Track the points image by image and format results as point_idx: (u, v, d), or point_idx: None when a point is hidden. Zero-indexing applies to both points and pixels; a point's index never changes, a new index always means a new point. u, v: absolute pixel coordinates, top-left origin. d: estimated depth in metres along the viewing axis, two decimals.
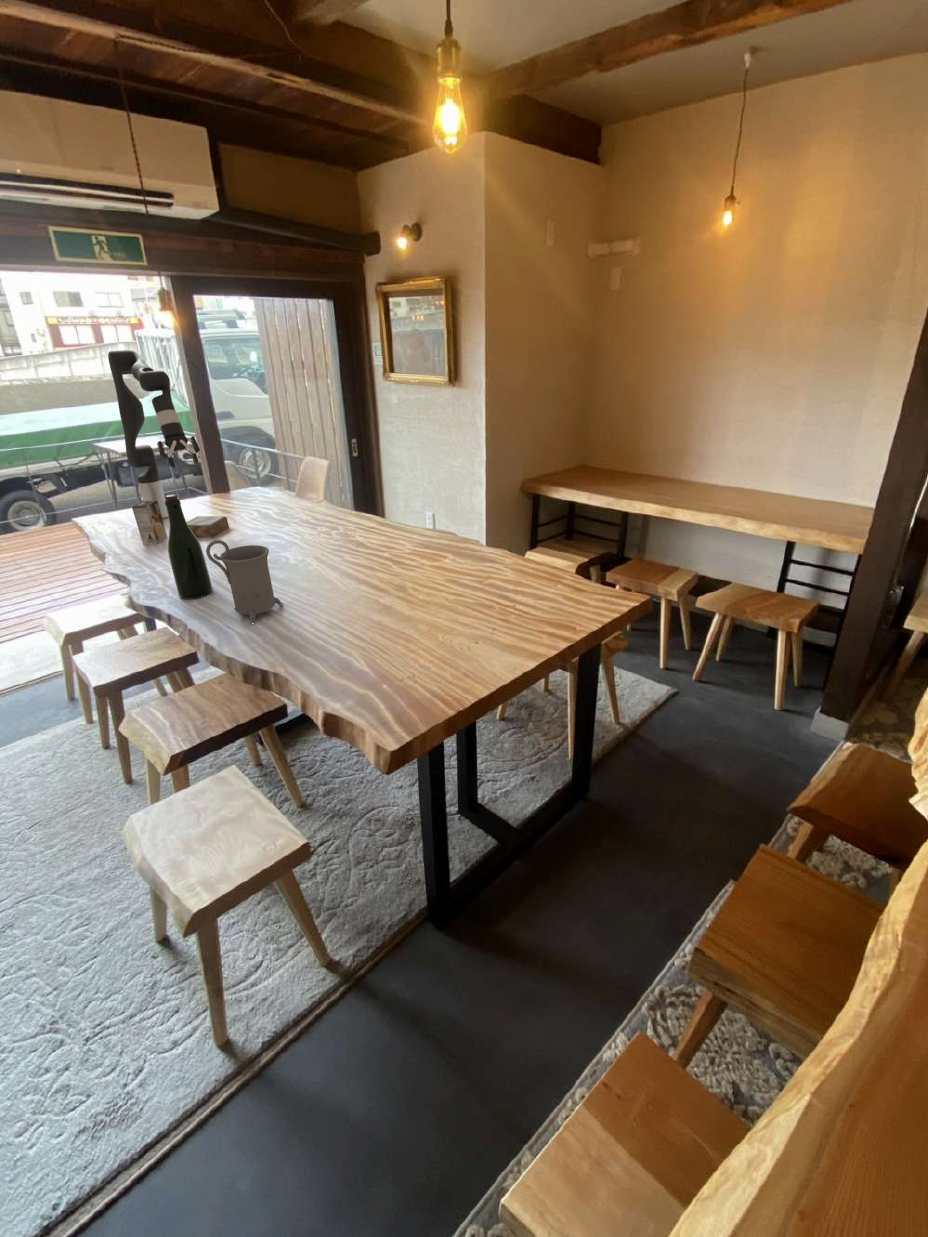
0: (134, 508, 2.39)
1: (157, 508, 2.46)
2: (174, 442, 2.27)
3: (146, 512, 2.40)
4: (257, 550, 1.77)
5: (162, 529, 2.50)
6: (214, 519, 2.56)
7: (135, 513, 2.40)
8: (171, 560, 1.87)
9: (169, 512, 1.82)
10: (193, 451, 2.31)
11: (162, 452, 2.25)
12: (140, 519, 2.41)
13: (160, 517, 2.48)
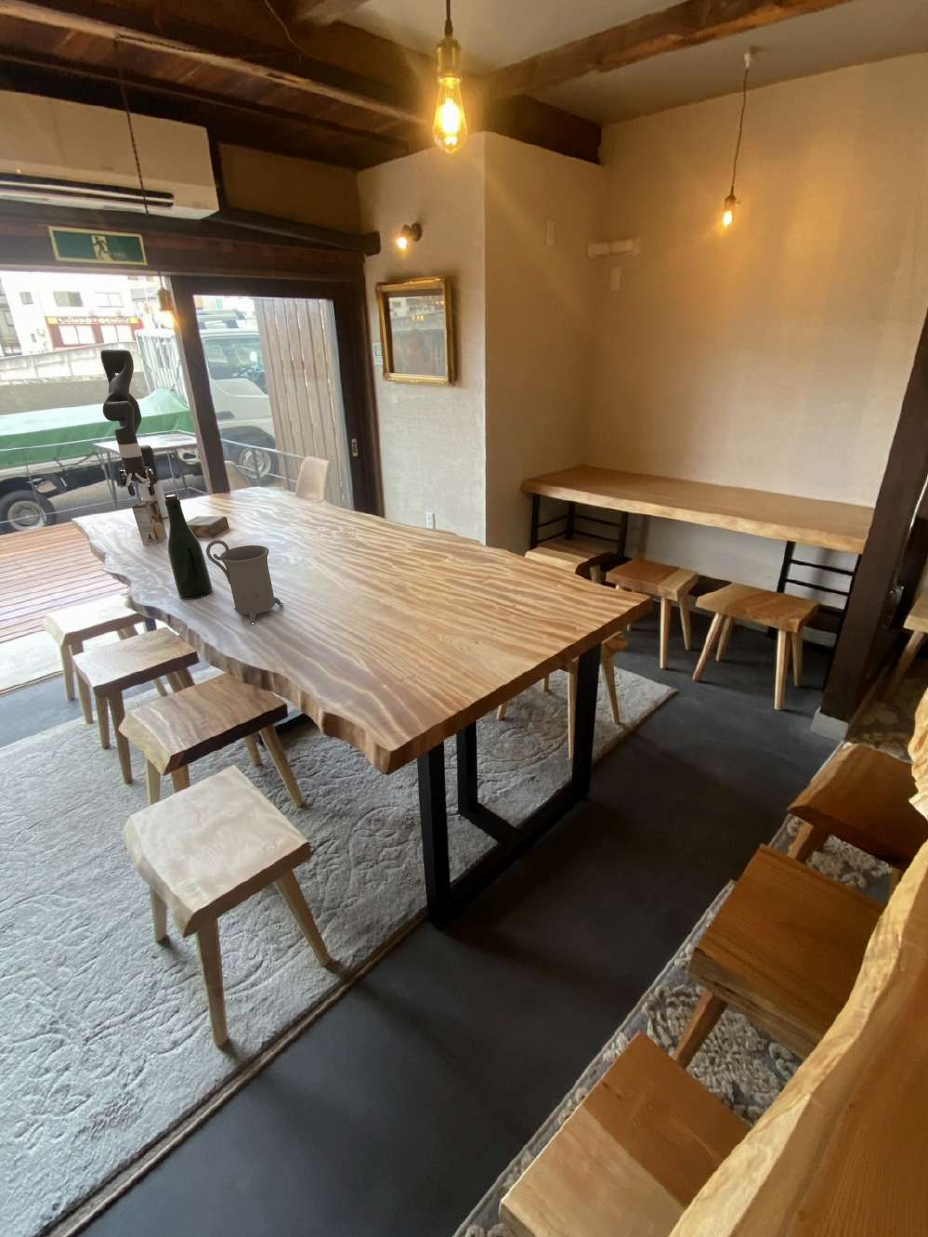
0: (134, 508, 2.39)
1: (157, 508, 2.46)
2: (130, 474, 2.36)
3: (146, 512, 2.40)
4: (257, 550, 1.77)
5: (162, 529, 2.50)
6: (214, 519, 2.56)
7: (135, 513, 2.40)
8: (171, 560, 1.87)
9: (169, 512, 1.82)
10: (147, 484, 2.38)
11: (121, 481, 2.38)
12: (140, 519, 2.41)
13: (160, 517, 2.48)
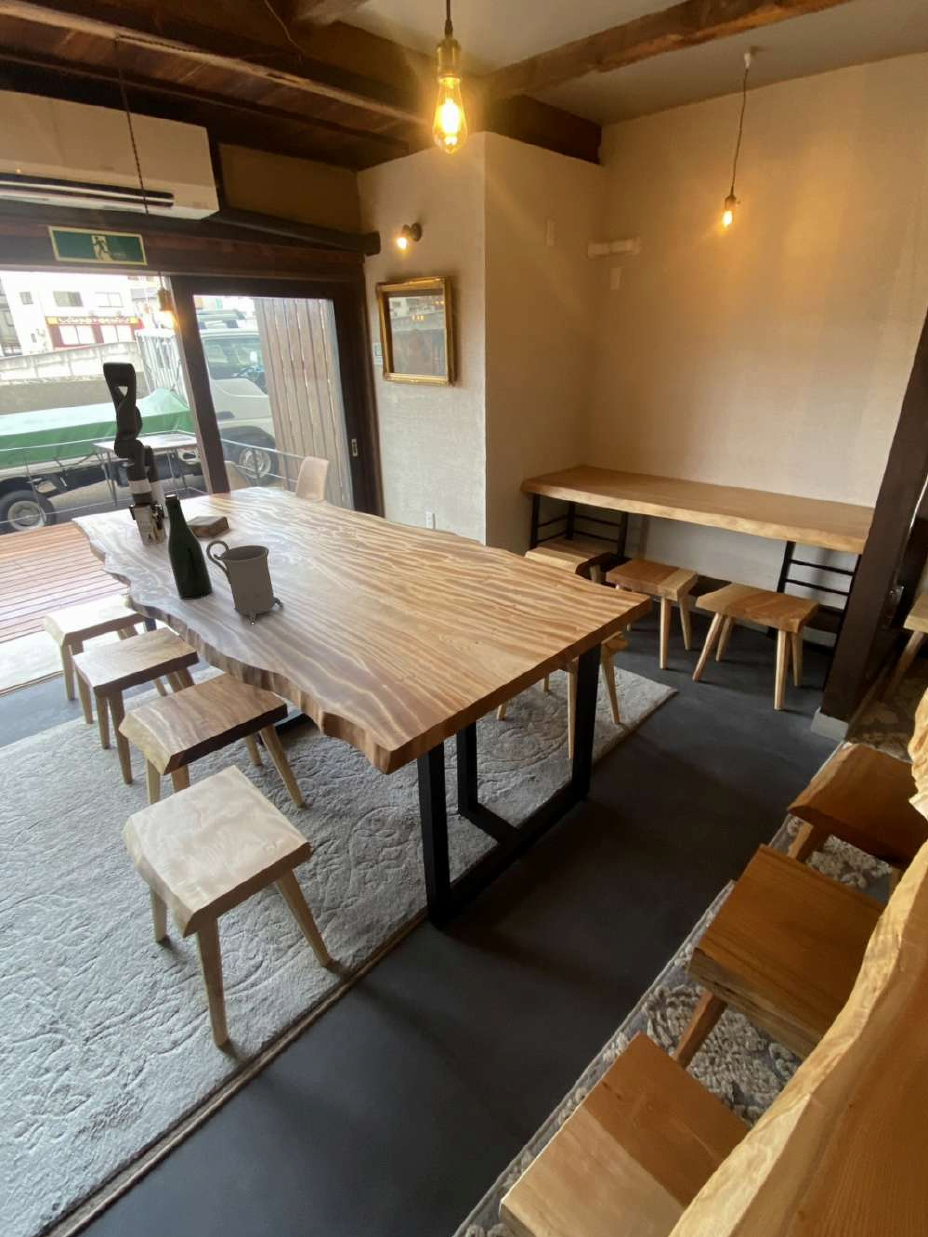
0: (134, 508, 2.39)
1: None
2: None
3: (146, 512, 2.40)
4: (257, 550, 1.77)
5: (162, 529, 2.50)
6: (214, 519, 2.56)
7: (135, 513, 2.40)
8: (171, 560, 1.87)
9: (169, 512, 1.82)
10: (155, 519, 2.44)
11: (132, 516, 2.45)
12: (140, 519, 2.41)
13: None
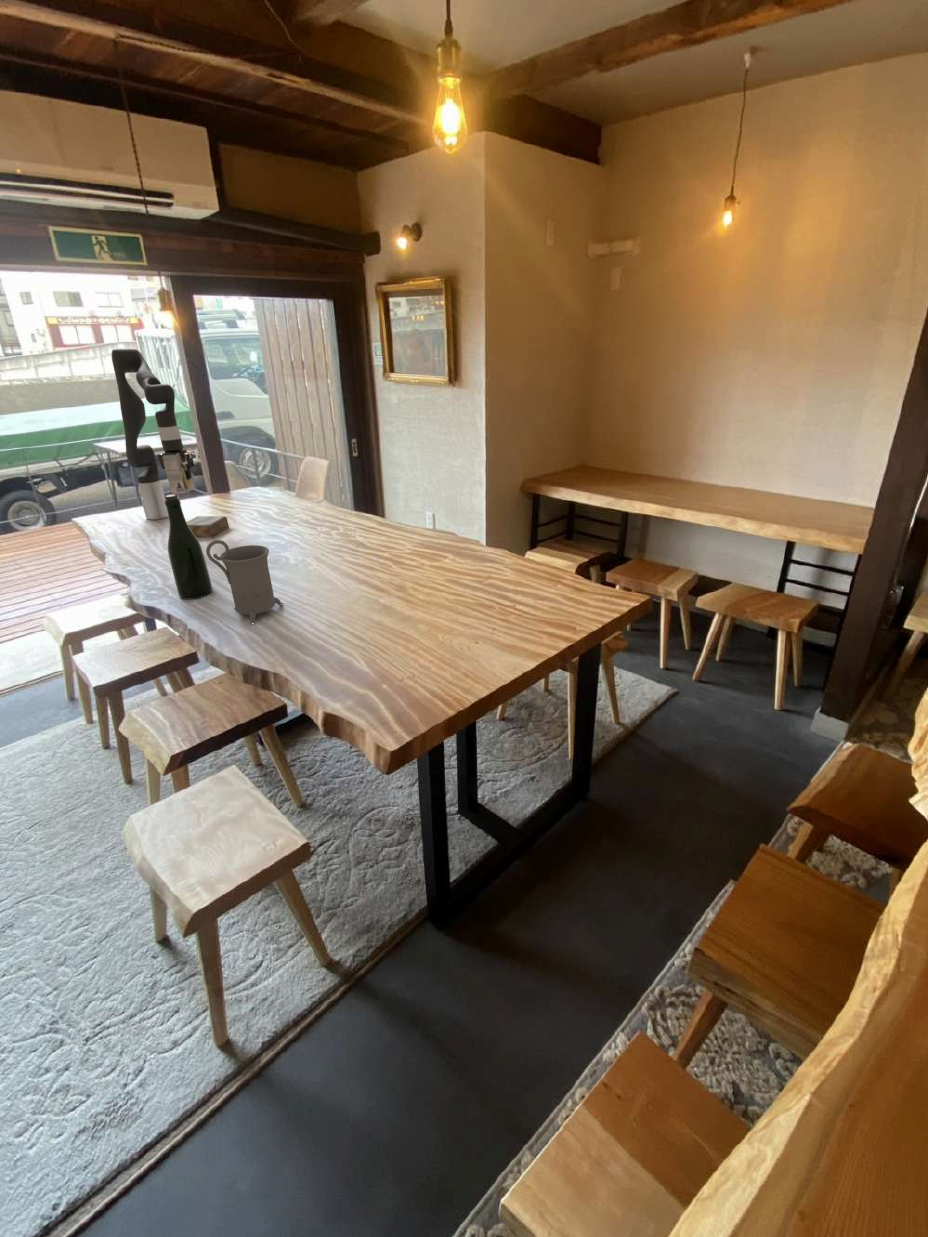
0: (163, 455, 2.36)
1: None
2: None
3: (175, 460, 2.37)
4: (257, 550, 1.77)
5: (191, 479, 2.47)
6: (214, 519, 2.56)
7: (164, 460, 2.37)
8: (171, 560, 1.87)
9: (169, 512, 1.82)
10: (185, 468, 2.41)
11: (162, 465, 2.42)
12: (170, 467, 2.38)
13: None
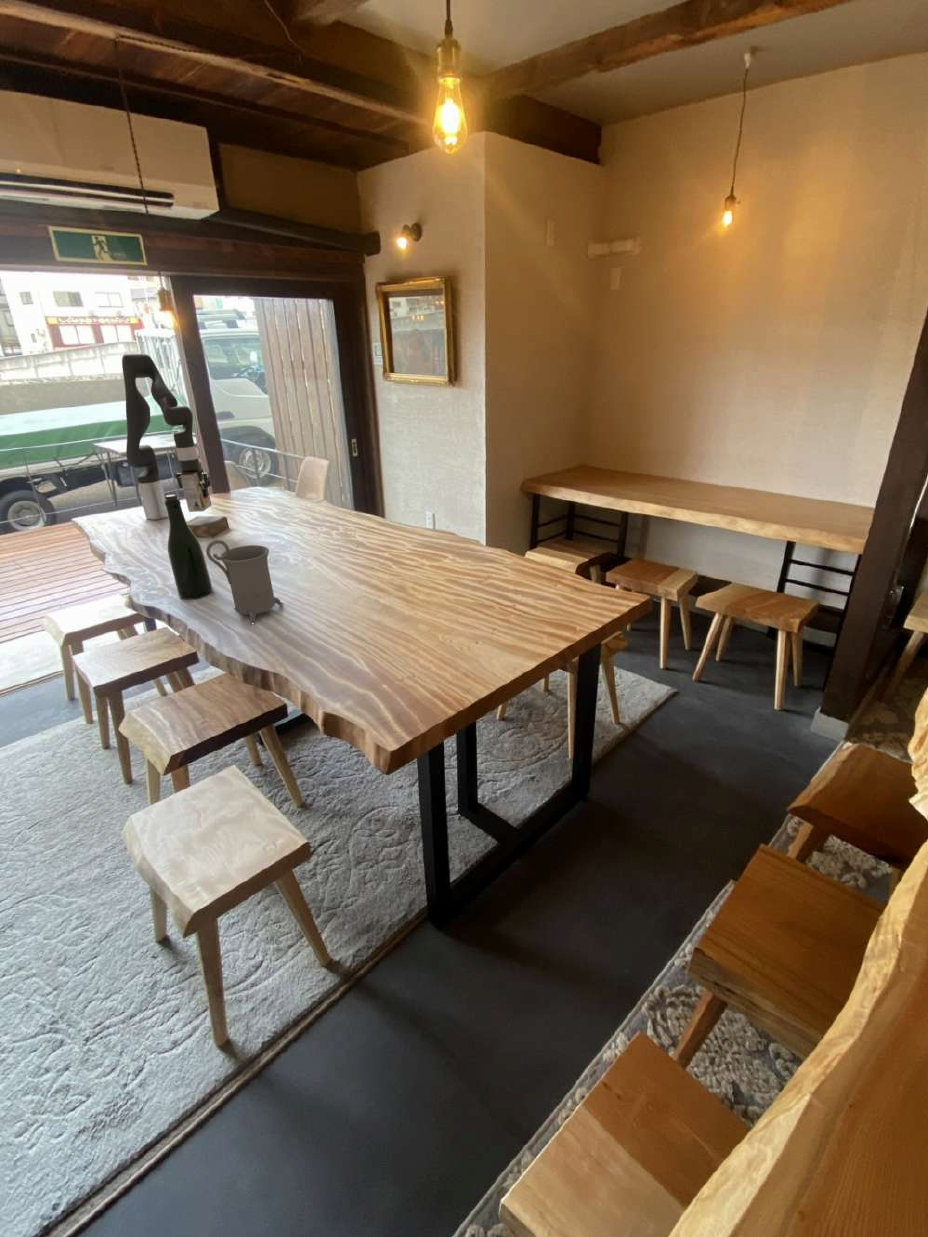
0: (181, 475, 2.42)
1: None
2: None
3: (193, 479, 2.42)
4: (257, 550, 1.77)
5: (207, 498, 2.53)
6: (214, 519, 2.56)
7: (182, 480, 2.43)
8: (171, 560, 1.87)
9: (169, 512, 1.82)
10: (202, 487, 2.47)
11: (179, 484, 2.48)
12: (187, 486, 2.44)
13: None
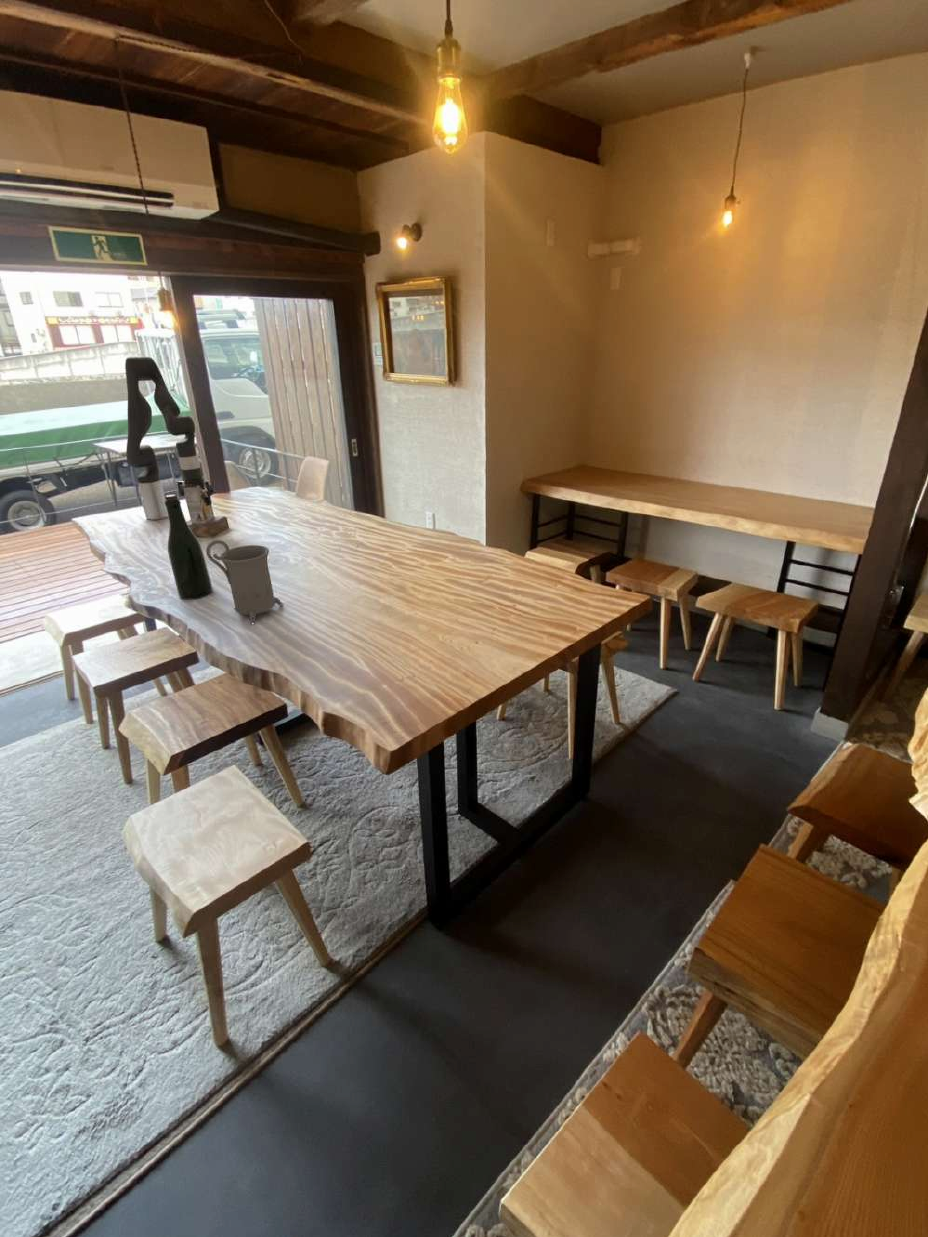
0: (184, 488, 2.44)
1: (206, 488, 2.51)
2: None
3: (196, 492, 2.45)
4: (257, 550, 1.77)
5: (210, 510, 2.55)
6: (214, 519, 2.56)
7: (185, 492, 2.45)
8: (171, 560, 1.87)
9: (169, 512, 1.82)
10: (205, 495, 2.48)
11: (180, 492, 2.49)
12: (190, 499, 2.46)
13: None
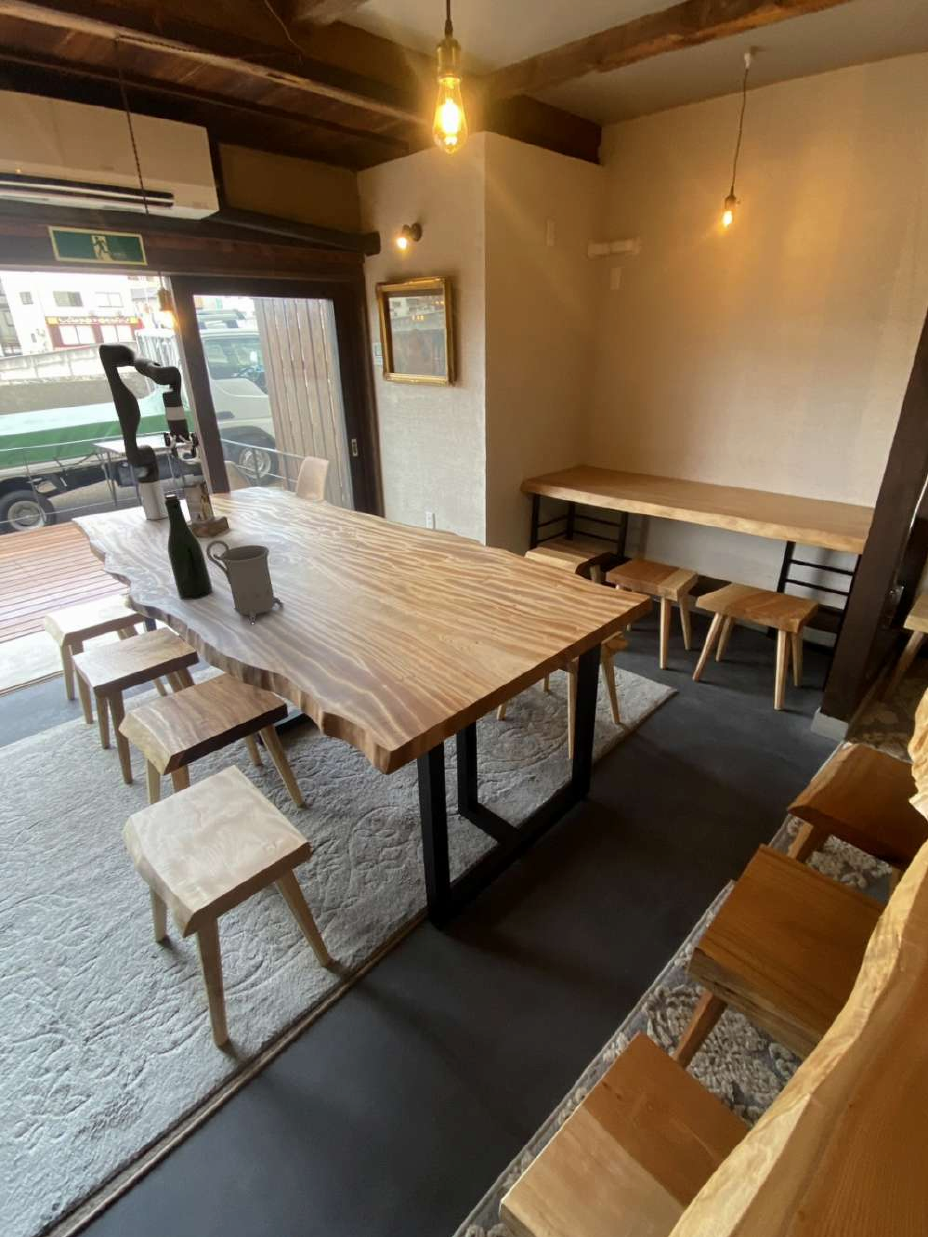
0: (184, 488, 2.44)
1: (206, 488, 2.51)
2: (174, 436, 2.50)
3: (196, 492, 2.45)
4: (257, 550, 1.77)
5: (210, 510, 2.55)
6: (214, 519, 2.56)
7: (185, 492, 2.45)
8: (171, 560, 1.87)
9: (169, 512, 1.82)
10: (190, 446, 2.51)
11: (165, 442, 2.52)
12: (190, 499, 2.46)
13: (208, 497, 2.54)
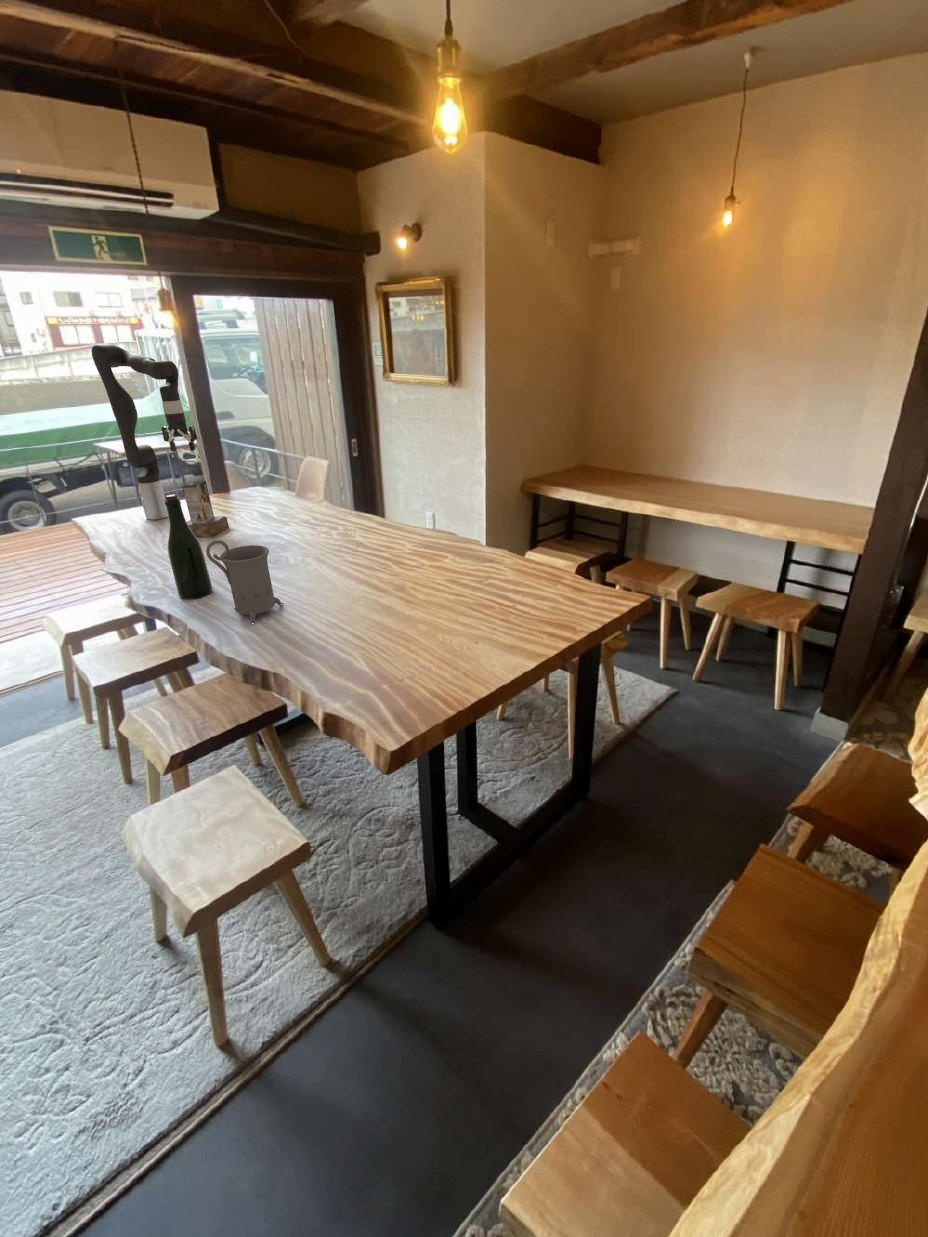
0: (184, 488, 2.44)
1: (206, 488, 2.51)
2: (172, 430, 2.52)
3: (196, 492, 2.45)
4: (257, 550, 1.77)
5: (210, 510, 2.55)
6: (214, 519, 2.56)
7: (185, 492, 2.45)
8: (171, 560, 1.87)
9: (169, 512, 1.82)
10: (189, 440, 2.54)
11: (164, 437, 2.55)
12: (190, 499, 2.46)
13: (208, 497, 2.54)
